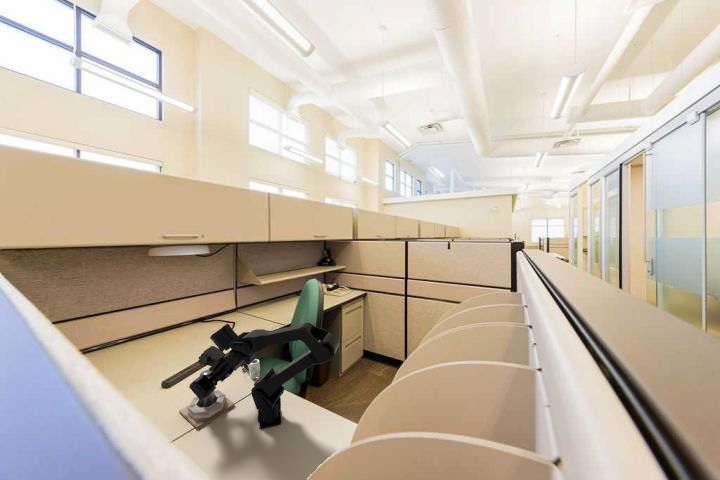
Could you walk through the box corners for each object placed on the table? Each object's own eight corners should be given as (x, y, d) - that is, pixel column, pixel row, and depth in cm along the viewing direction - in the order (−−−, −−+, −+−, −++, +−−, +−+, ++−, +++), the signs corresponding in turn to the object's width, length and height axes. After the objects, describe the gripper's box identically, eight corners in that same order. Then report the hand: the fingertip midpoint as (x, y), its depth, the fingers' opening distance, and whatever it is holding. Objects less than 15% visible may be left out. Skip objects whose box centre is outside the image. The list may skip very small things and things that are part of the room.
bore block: (234, 405, 88) (234, 397, 88) (197, 429, 78) (197, 420, 78) (216, 392, 94) (215, 384, 94) (179, 412, 84) (179, 404, 84)
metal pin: (214, 401, 89) (213, 368, 88) (214, 408, 85) (213, 374, 84) (201, 404, 87) (200, 371, 86) (200, 412, 83) (199, 378, 82)
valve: (264, 376, 105) (253, 363, 114) (264, 360, 104) (253, 349, 113) (248, 382, 100) (238, 369, 109) (248, 366, 100) (238, 354, 109)
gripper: (234, 329, 93) (208, 355, 95) (193, 356, 74) (162, 387, 77) (255, 352, 92) (228, 377, 95) (218, 385, 74) (186, 415, 76)
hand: (203, 387), depth 86 cm, fingers closed on metal pin, 4 cm apart
